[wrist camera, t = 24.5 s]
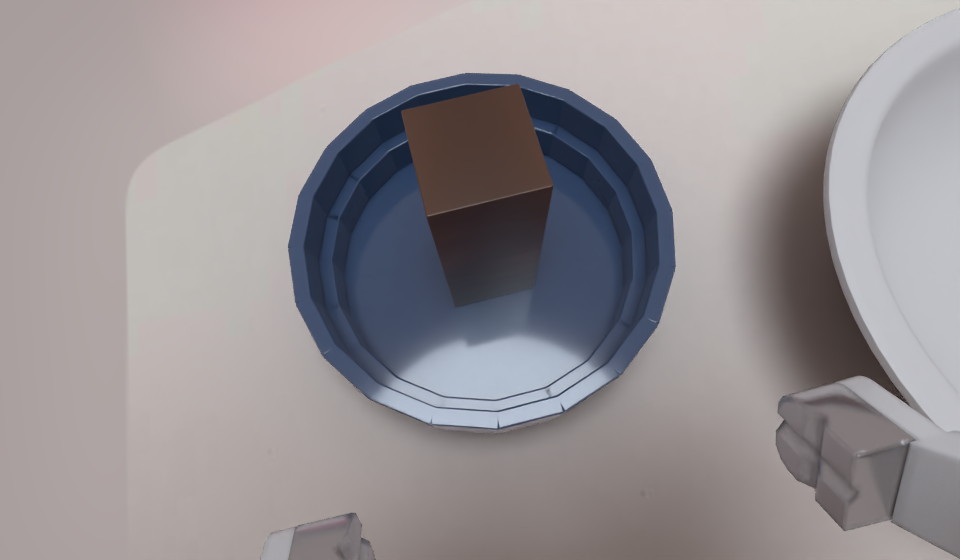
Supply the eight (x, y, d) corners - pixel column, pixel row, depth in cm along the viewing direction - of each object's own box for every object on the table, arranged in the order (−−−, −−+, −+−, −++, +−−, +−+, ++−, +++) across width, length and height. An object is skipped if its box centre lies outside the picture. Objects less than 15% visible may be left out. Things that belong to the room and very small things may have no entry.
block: (454, 307, 25) (426, 217, 15) (437, 234, 26) (400, 110, 17) (534, 287, 25) (554, 186, 16) (512, 216, 26) (519, 82, 17)
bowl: (351, 473, 23) (317, 477, 19) (304, 167, 28) (270, 117, 24) (696, 382, 24) (738, 367, 20) (587, 101, 29) (602, 40, 25)
